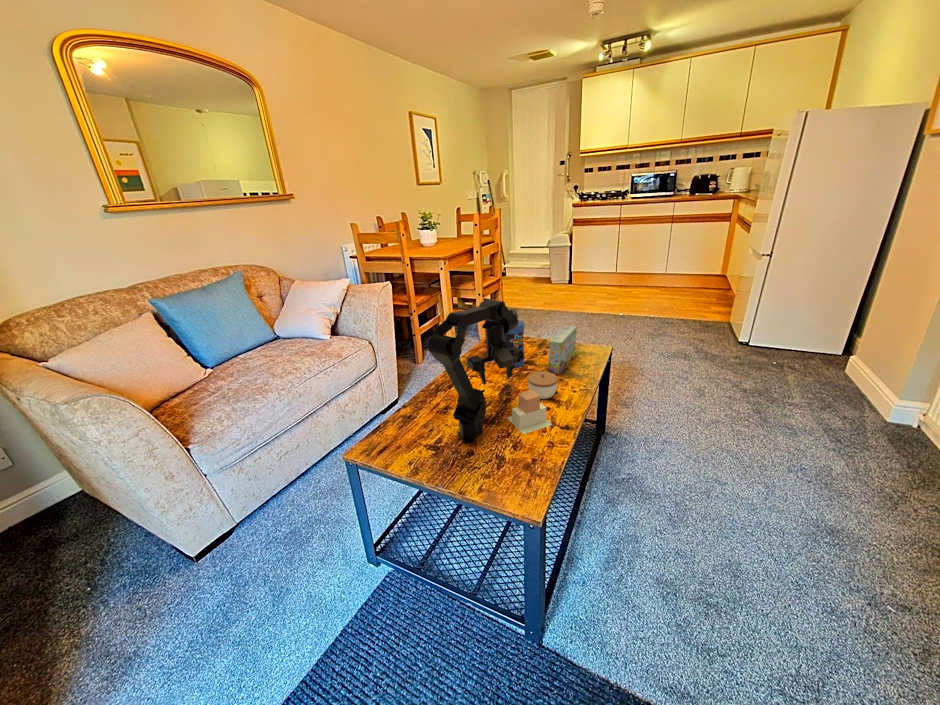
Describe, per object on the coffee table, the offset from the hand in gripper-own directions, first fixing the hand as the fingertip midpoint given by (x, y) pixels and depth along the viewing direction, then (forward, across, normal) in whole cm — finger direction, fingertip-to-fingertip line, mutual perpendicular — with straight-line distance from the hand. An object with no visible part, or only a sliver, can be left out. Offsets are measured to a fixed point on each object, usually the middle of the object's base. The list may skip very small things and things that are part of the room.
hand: (496, 381), depth 133 cm
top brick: (+6, +6, -11) cm, 14 cm away
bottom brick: (+12, +6, -11) cm, 17 cm away
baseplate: (+12, +6, -11) cm, 18 cm away
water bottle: (+13, +25, +32) cm, 43 cm away
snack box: (+13, +42, +20) cm, 48 cm away
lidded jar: (+13, +20, +2) cm, 24 cm away
